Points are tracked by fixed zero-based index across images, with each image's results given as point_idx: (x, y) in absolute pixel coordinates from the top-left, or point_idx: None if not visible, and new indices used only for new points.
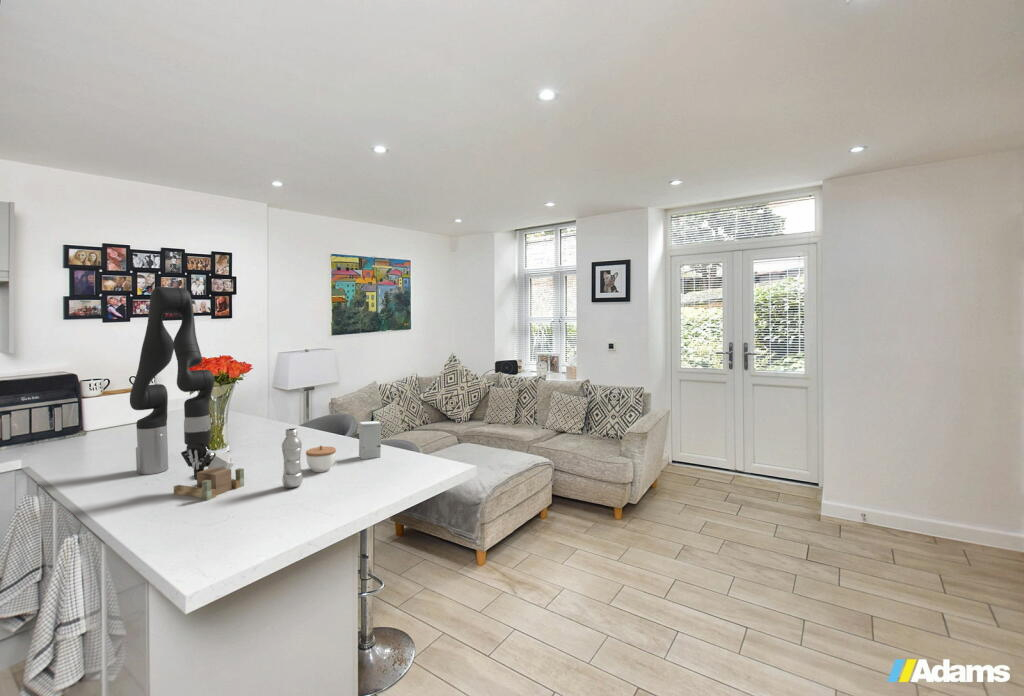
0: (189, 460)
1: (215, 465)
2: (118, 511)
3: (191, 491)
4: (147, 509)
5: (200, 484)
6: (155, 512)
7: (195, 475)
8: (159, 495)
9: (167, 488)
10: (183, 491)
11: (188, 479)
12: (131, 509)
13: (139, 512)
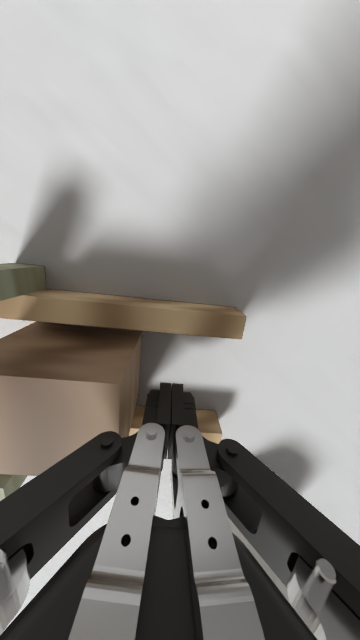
0: (250, 493)
1: (236, 530)
2: (321, 31)
3: (130, 301)
4: (190, 93)
5: (111, 345)
6: (109, 55)
7: (176, 396)
8: (283, 280)
9: (312, 355)
10: (181, 305)
11: (302, 443)
12: (274, 76)
13: (195, 38)
